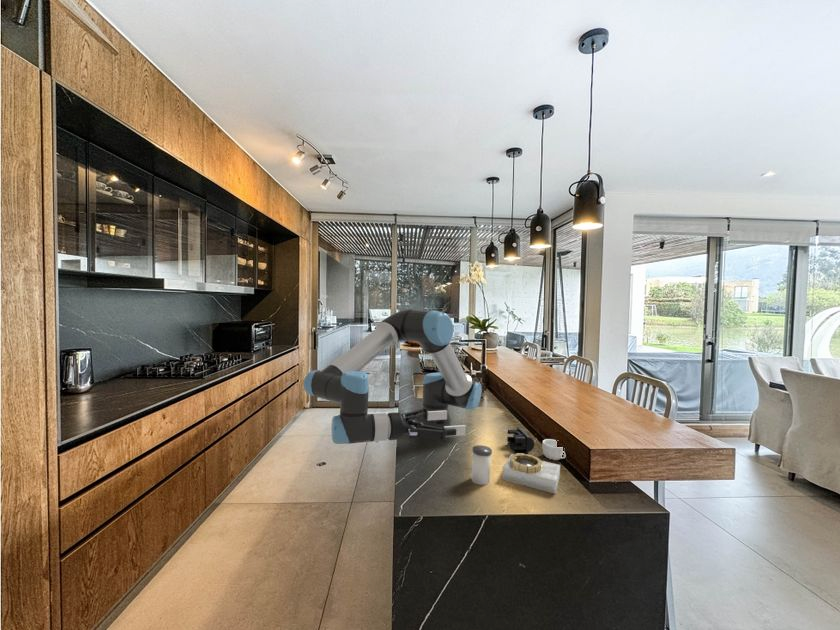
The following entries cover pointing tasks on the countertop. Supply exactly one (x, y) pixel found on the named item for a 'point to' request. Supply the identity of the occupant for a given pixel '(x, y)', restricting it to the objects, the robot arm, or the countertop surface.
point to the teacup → (552, 449)
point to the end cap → (520, 441)
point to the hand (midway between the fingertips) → (455, 421)
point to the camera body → (532, 472)
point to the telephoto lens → (481, 464)
